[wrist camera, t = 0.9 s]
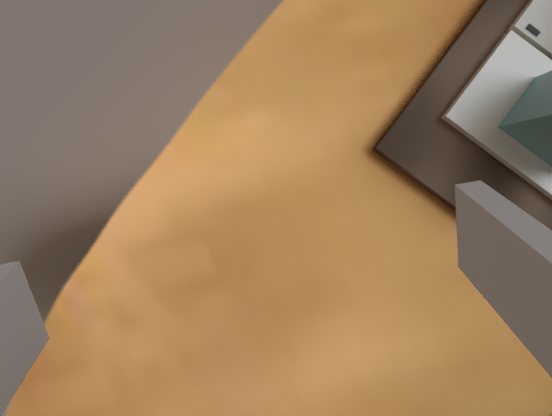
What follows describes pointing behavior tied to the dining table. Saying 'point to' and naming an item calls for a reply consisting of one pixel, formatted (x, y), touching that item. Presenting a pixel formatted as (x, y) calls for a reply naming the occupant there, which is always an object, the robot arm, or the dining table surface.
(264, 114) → the dining table surface
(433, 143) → the board
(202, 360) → the dining table surface
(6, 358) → the robot arm
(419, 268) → the dining table surface
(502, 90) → the teal cube on panel
